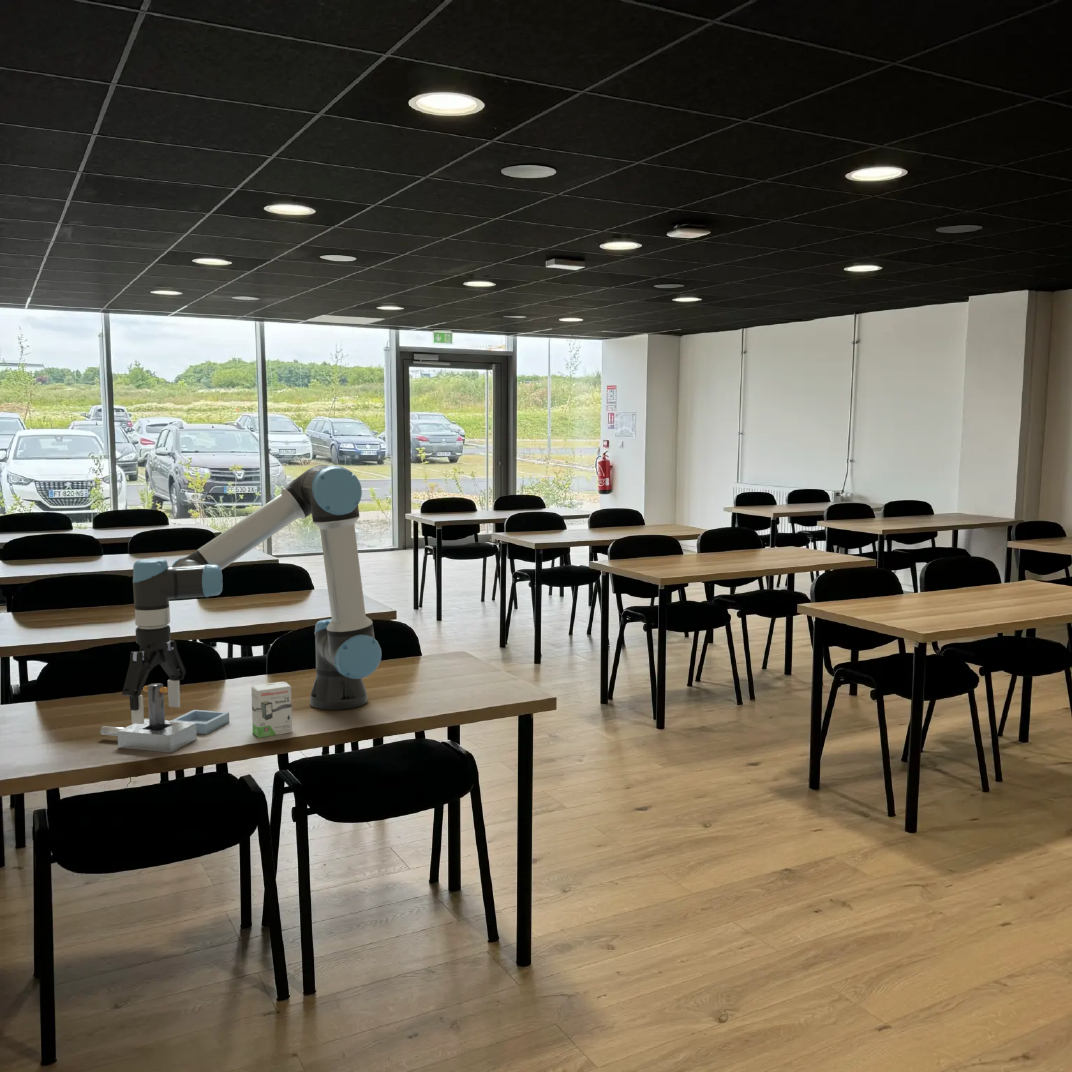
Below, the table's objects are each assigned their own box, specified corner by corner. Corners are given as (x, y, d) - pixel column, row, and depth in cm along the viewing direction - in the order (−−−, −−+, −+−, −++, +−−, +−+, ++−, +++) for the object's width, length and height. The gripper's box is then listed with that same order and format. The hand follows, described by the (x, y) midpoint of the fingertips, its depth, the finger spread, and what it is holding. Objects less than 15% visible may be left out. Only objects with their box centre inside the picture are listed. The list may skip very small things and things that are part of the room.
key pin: (174, 742, 225) (171, 684, 224) (165, 746, 222) (162, 687, 221) (150, 740, 227) (148, 682, 225) (141, 744, 224) (138, 686, 222)
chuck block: (196, 739, 228) (196, 722, 227) (170, 752, 218) (170, 735, 218) (117, 732, 233) (116, 716, 233) (88, 744, 223) (87, 728, 223)
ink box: (258, 738, 228) (256, 690, 227) (252, 733, 232) (250, 685, 231) (293, 732, 233) (291, 685, 232) (286, 727, 237) (285, 680, 236)
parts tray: (229, 722, 241) (229, 712, 241) (206, 734, 231) (206, 724, 231) (194, 719, 244) (194, 709, 243) (170, 730, 234) (170, 721, 234)
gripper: (171, 615, 234) (175, 699, 237) (102, 635, 210) (106, 729, 213) (198, 616, 233) (202, 701, 235) (131, 637, 209) (135, 731, 211)
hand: (156, 714), depth 224 cm, fingers open, 13 cm apart
